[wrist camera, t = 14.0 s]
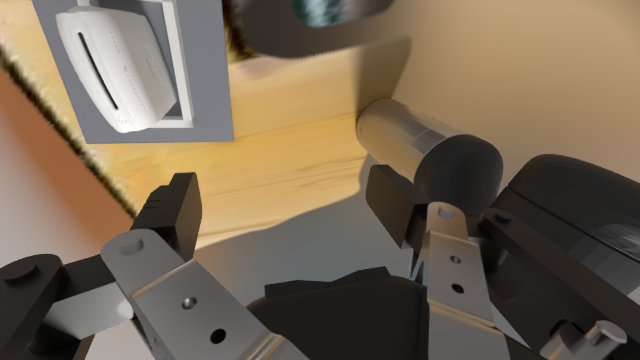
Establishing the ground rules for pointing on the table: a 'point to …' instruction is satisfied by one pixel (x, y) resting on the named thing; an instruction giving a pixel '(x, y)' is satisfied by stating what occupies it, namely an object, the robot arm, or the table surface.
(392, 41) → the table surface
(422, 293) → the robot arm
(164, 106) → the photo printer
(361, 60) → the table surface
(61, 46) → the dock
